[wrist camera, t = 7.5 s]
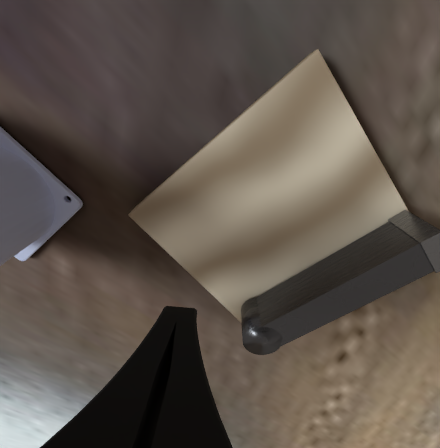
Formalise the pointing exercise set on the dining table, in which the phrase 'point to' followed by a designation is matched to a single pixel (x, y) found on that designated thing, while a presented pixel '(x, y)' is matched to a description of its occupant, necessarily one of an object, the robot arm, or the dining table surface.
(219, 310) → the dining table surface
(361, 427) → the dining table surface
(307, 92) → the stool seat
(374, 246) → the folding leg
